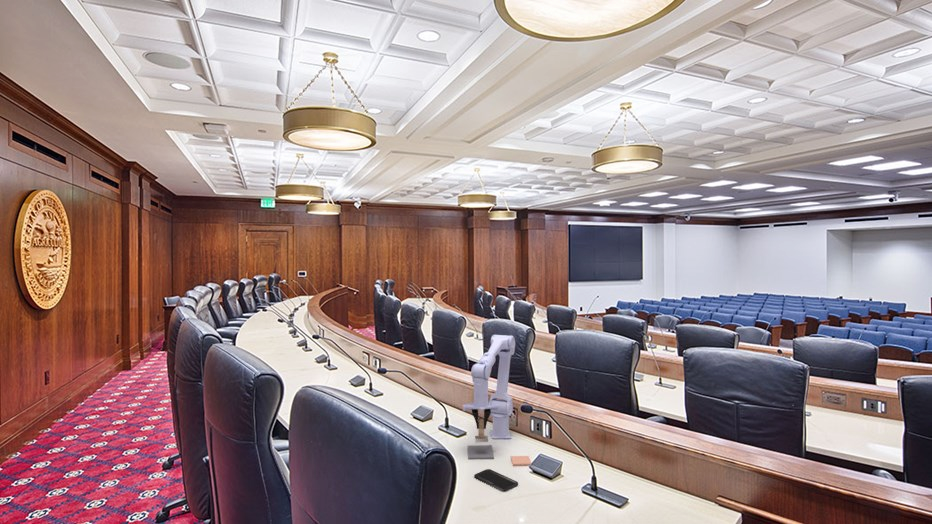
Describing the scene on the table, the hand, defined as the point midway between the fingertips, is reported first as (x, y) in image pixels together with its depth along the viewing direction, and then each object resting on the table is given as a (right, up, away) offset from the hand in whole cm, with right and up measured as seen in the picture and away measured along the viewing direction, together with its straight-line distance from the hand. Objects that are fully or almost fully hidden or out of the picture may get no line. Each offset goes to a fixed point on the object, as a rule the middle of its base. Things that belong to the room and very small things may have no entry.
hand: (481, 428), depth 180 cm
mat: (0, -10, 0) cm, 10 cm away
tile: (+15, -10, -5) cm, 18 cm away
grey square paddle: (0, -4, -1) cm, 4 cm away
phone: (+4, -10, -24) cm, 26 cm away
